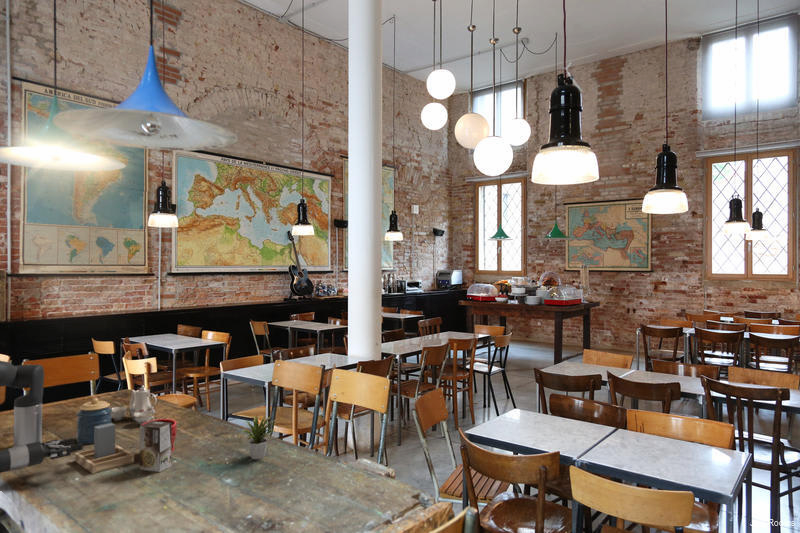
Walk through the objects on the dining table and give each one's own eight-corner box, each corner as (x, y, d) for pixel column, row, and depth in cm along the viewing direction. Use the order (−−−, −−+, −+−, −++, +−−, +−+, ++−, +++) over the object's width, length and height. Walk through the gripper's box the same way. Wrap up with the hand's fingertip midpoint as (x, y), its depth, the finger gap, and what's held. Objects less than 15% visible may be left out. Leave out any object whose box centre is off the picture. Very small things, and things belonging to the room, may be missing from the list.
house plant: (265, 466, 189) (266, 422, 189) (231, 463, 192) (232, 420, 192) (282, 453, 203) (282, 411, 203) (250, 450, 206) (250, 409, 206)
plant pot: (132, 456, 198) (132, 425, 198) (161, 446, 210) (162, 416, 210) (154, 462, 192) (154, 430, 192) (183, 451, 204) (184, 421, 204)
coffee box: (172, 465, 189) (172, 422, 189) (159, 472, 183) (160, 427, 183) (151, 463, 192) (152, 420, 192) (138, 469, 186) (139, 425, 186)
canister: (118, 435, 223) (118, 394, 223) (98, 445, 210) (98, 402, 210) (90, 433, 224) (91, 393, 224) (68, 444, 212) (69, 401, 212)
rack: (74, 461, 193) (74, 453, 193) (114, 451, 204) (114, 443, 204) (93, 473, 182) (93, 465, 182) (134, 462, 192) (134, 454, 192)
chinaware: (100, 425, 242) (97, 391, 240) (129, 412, 258) (126, 380, 256) (147, 431, 233) (144, 396, 231) (174, 417, 249) (171, 384, 247)
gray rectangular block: (93, 461, 192) (94, 426, 192) (111, 456, 196) (111, 423, 196) (97, 463, 189) (97, 428, 189) (114, 459, 194) (115, 424, 194)
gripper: (30, 449, 169) (85, 437, 181) (18, 440, 178) (71, 429, 190) (30, 472, 169) (85, 458, 181) (18, 461, 178) (70, 449, 190)
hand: (77, 443), depth 186 cm, fingers open, 8 cm apart
